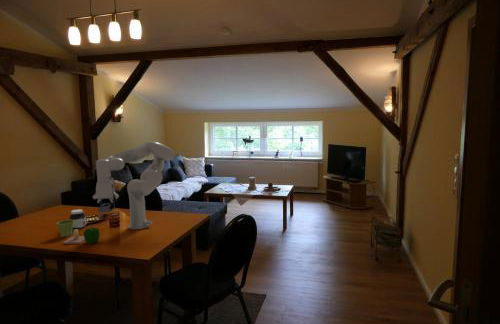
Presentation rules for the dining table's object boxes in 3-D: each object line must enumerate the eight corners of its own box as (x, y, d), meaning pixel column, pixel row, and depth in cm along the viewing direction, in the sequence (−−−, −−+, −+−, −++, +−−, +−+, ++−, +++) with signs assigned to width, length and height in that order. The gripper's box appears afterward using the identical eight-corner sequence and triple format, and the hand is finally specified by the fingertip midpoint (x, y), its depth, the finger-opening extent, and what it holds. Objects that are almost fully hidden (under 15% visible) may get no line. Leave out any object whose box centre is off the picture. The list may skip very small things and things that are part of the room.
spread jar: (77, 230, 210) (76, 213, 209) (62, 229, 212) (61, 212, 211) (90, 225, 222) (89, 208, 220) (75, 224, 224) (74, 207, 223)
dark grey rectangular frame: (114, 208, 203) (114, 203, 202) (109, 212, 194) (108, 207, 194) (104, 208, 203) (104, 203, 202) (98, 212, 194) (97, 207, 194)
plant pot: (62, 239, 195) (61, 225, 194) (54, 236, 200) (53, 222, 199) (78, 234, 203) (77, 221, 202) (69, 232, 208) (68, 218, 206)
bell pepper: (98, 244, 186) (97, 227, 185) (82, 245, 184) (81, 228, 183) (101, 239, 194) (100, 222, 193) (86, 240, 192) (85, 224, 191)
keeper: (89, 237, 197) (88, 227, 196) (80, 243, 187) (79, 232, 186) (72, 237, 197) (71, 227, 196) (63, 243, 187) (62, 232, 186)
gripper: (121, 178, 200) (123, 207, 202) (92, 178, 200) (95, 207, 202) (116, 180, 192) (118, 210, 195) (86, 181, 192) (89, 210, 195)
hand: (106, 208), depth 198 cm, fingers closed on dark grey rectangular frame, 6 cm apart
